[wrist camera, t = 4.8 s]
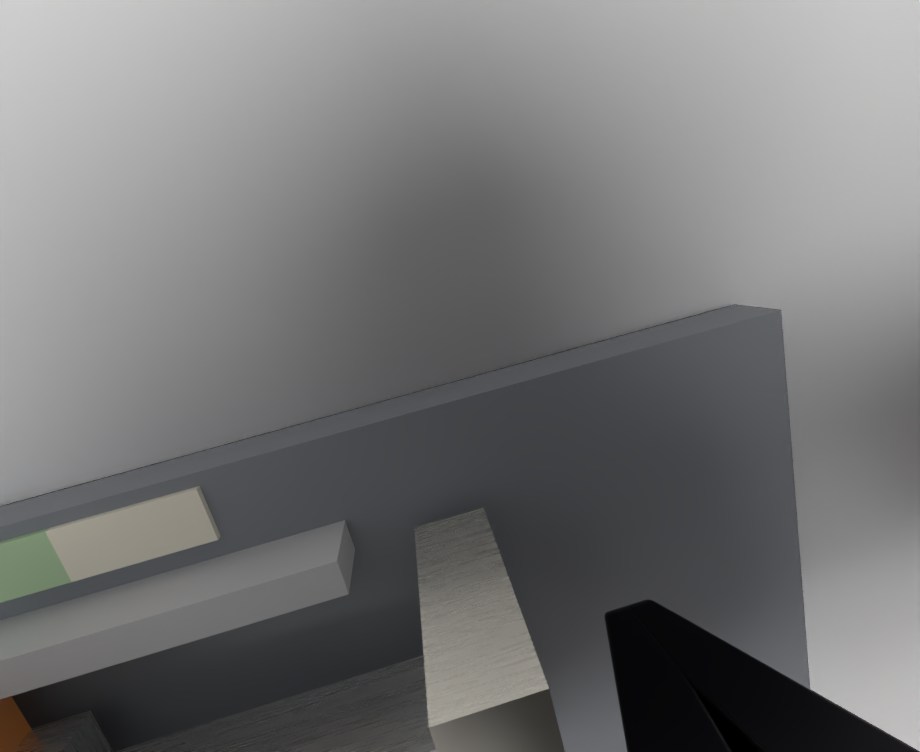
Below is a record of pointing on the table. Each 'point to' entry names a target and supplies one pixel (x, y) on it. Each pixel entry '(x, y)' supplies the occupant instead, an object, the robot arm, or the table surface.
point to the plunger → (398, 677)
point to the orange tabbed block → (11, 725)
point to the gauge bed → (393, 537)
